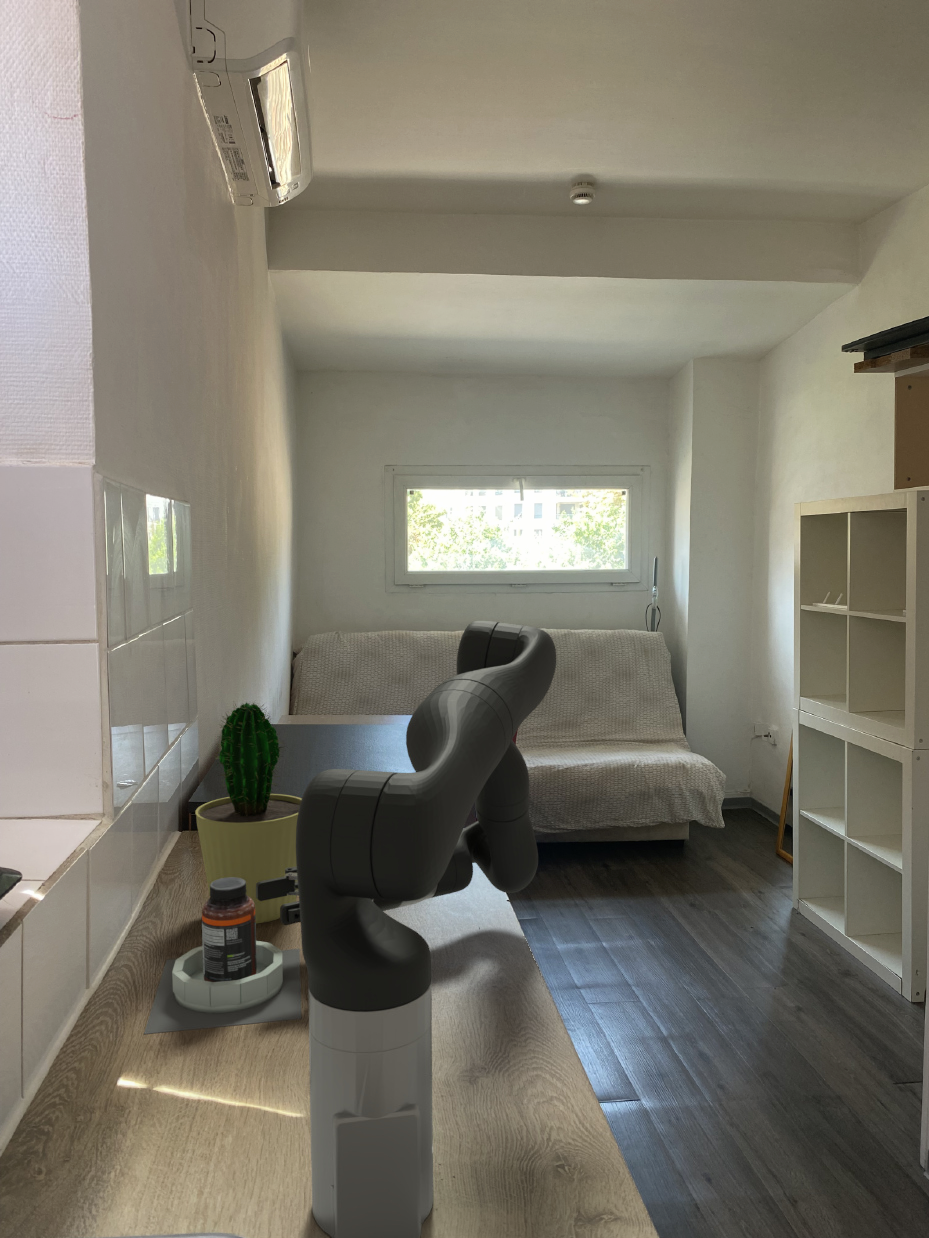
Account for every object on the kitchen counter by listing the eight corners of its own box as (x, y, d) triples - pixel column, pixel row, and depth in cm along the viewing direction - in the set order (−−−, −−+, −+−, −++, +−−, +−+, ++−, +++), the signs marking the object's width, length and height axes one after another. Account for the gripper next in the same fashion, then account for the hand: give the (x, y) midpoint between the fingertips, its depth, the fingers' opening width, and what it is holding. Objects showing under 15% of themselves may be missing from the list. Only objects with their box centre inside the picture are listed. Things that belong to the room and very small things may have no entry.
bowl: (282, 1006, 100) (281, 980, 100) (167, 1017, 98) (167, 990, 98) (283, 960, 112) (282, 936, 112) (180, 968, 110) (180, 944, 110)
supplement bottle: (235, 963, 109) (234, 869, 109) (267, 977, 105) (266, 881, 105) (192, 980, 105) (190, 883, 104) (224, 996, 101) (222, 895, 100)
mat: (301, 1022, 98) (301, 1018, 98) (143, 1037, 95) (143, 1033, 95) (299, 951, 115) (299, 948, 115) (166, 962, 112) (166, 959, 112)
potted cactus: (321, 922, 125) (318, 703, 123) (204, 940, 119) (198, 710, 117) (298, 885, 139) (295, 688, 137) (192, 899, 133) (187, 694, 131)
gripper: (368, 833, 121) (248, 855, 113) (419, 863, 109) (289, 890, 101) (369, 888, 122) (249, 914, 113) (420, 925, 110) (291, 957, 101)
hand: (268, 903), depth 107 cm, fingers open, 8 cm apart
